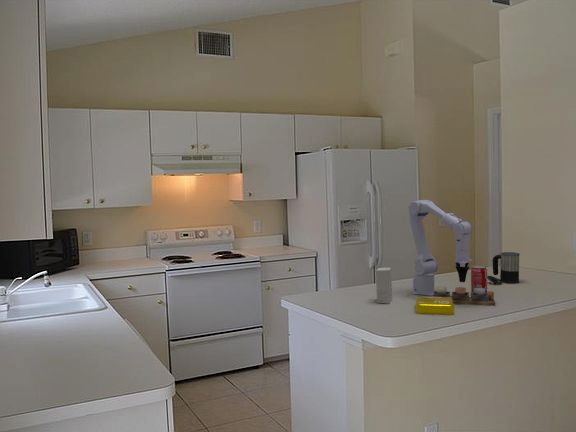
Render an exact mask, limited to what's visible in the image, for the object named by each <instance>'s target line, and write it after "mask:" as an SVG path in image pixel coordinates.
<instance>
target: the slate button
mask: <svg viewBox="0 0 576 432" xmlns="http://www.w3.org/2000/svg"><path fill="white" fill-rule="evenodd" d="M474 295H478V296H485V289H484V288H474Z"/></svg>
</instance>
